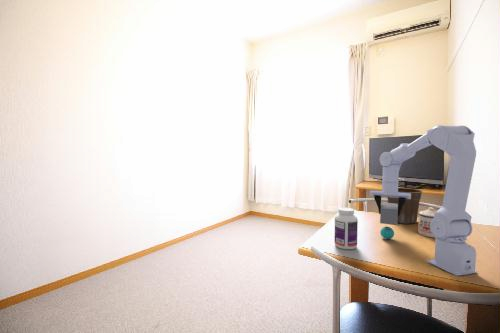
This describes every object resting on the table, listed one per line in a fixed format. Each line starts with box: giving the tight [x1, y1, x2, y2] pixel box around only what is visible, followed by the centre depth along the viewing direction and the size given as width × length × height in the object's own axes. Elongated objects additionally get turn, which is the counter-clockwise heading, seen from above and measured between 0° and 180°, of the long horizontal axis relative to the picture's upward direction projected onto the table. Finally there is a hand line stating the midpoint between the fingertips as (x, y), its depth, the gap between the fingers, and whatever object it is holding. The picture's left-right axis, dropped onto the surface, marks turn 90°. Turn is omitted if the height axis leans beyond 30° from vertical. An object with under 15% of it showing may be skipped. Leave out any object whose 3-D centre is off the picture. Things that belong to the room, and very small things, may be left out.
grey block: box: [379, 201, 398, 226], centre depth 103 cm, size 11×6×6 cm, turn 150°
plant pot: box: [386, 187, 424, 225], centre depth 128 cm, size 16×16×16 cm
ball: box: [379, 226, 395, 240], centre depth 103 cm, size 5×5×5 cm
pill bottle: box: [334, 207, 359, 250], centre depth 95 cm, size 8×8×14 cm
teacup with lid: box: [417, 206, 438, 239], centre depth 106 cm, size 12×9×12 cm
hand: (389, 214), depth 103 cm, fingers closed on grey block, 6 cm apart
